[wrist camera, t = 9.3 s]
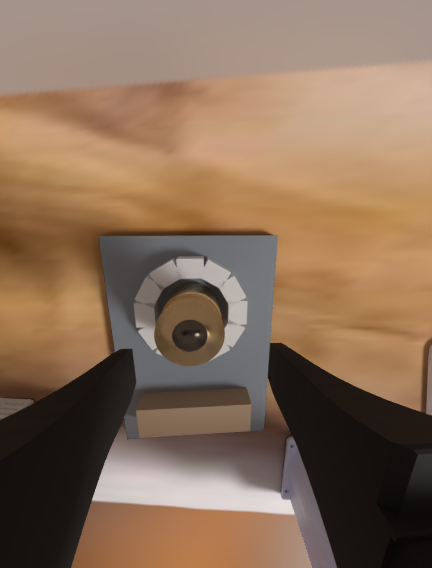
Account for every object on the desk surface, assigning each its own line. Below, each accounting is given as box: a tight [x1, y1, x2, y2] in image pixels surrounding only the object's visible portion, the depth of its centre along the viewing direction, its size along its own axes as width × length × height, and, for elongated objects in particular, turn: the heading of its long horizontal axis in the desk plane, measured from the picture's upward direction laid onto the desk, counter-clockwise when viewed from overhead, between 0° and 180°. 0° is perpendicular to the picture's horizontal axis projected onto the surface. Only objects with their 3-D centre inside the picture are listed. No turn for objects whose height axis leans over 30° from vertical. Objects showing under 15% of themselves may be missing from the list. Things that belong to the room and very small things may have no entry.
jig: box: [99, 235, 278, 439], centre depth 18 cm, size 20×14×3 cm
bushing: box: [154, 282, 225, 366], centre depth 15 cm, size 4×4×5 cm
